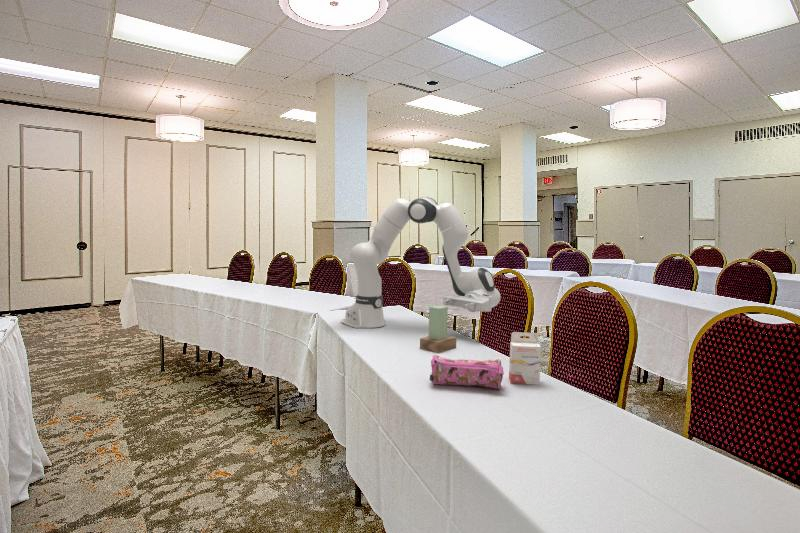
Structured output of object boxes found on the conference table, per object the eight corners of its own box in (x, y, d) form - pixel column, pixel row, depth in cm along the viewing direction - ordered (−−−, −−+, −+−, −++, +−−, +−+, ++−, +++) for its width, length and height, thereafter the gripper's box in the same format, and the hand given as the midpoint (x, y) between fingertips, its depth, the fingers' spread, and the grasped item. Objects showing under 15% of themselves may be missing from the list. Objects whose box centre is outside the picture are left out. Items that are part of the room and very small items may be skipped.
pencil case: (428, 388, 138) (428, 358, 137) (433, 378, 147) (434, 350, 146) (503, 395, 132) (503, 364, 132) (504, 384, 141) (505, 355, 141)
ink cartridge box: (510, 383, 141) (512, 335, 140) (508, 378, 146) (510, 331, 145) (540, 384, 141) (541, 336, 139) (537, 379, 146) (538, 332, 144)
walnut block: (419, 348, 181) (419, 338, 180) (437, 343, 189) (437, 333, 188) (438, 353, 174) (438, 342, 174) (456, 347, 182) (456, 337, 182)
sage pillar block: (428, 337, 181) (429, 306, 180) (437, 335, 185) (437, 305, 184) (439, 340, 178) (439, 308, 177) (447, 337, 181) (447, 307, 180)
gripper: (454, 290, 206) (434, 293, 196) (495, 296, 193) (476, 300, 183) (454, 304, 207) (434, 308, 197) (494, 312, 193) (475, 316, 183)
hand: (454, 304), depth 190 cm, fingers open, 8 cm apart
